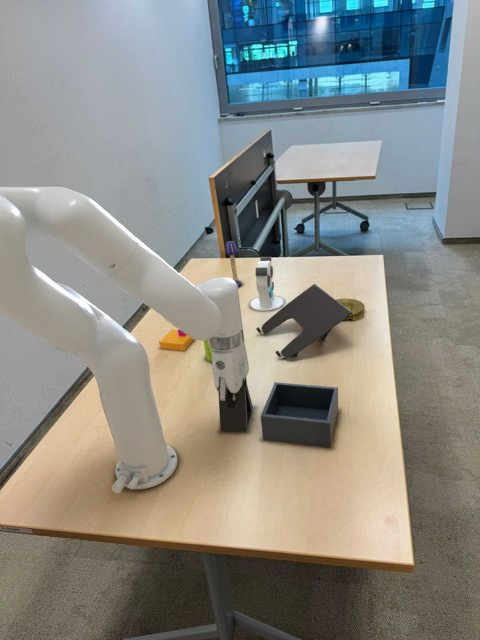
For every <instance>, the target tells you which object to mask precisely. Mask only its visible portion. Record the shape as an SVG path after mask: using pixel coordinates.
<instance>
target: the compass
mask: <svg viewBox="0 0 480 640" xmlns="http://www.w3.org/2000/svg"><path fill="white" fill-rule="evenodd" d="M335 300H337V301H338V302H339V303H341V304H342V305H343V306H344V307H346V308H347V309H348V310H350V311H351V312H352V314H351V315H349V316H347V317H346V318H345V319H344V320H352V321H356V320H359V319H361V318H362V317H363V315H364V313H365V303H364V302H362V301H360V300H358V299H355V298H349V297H348V298H347V297H346V298H345V297H344V298H337V299H335Z"/></svg>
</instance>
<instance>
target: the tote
mask: <svg viewBox="0 0 480 640" xmlns="http://www.w3.org/2000/svg"><path fill="white" fill-rule="evenodd" d="M338 413H339V387H336V386H325V385H312V384H302V383H288V382H280V381H279V382H277V381H274V383H273V385H272V388H271V390H270V392H269V394H268V397H267V399H266V402H265V405H264V406H263V409H262V412H261V414H260V423H261V424H260V425H261V434H262V441H270V442H277V443H287V444H294V445H302V446H303V445H304V446H312V447H319V448H320V447H321V448H329V449H330V448H331V446H332V441H333V437H334V432H335V429H336V423H337V419H338V418H337V417H338Z"/></svg>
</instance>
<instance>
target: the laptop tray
mask: <svg viewBox="0 0 480 640" xmlns="http://www.w3.org/2000/svg"><path fill="white" fill-rule="evenodd" d="M351 314H352V312H351V311H350V310H348V309H347V308H346V307H344V306H343V305H342V304H341V303H339V302H338V301H337V300H336V299H335V298H334V297H333V296H332V295H330V294H329V293H328V292H326V291H325V290H324V289H322V288H321V287H320V286H319V285H317V284H316V283H313V284H312V285H311V286H310V287H308V288H307V289H305V290H304V291H303V292H301V293H299V295H297V296H296V297H294V298H293V299H292V300H291V301H289V302H288V303H286V305H284V306H283V307H281V308H280V309H279V310H278V311H277V312H276V313H274V314H272V316H271V317H270V318H269V319H267V320H266V321H265V322H264V323H263V324H262V325H261V329H260V327H259V326H258V327H256V328H255V329H256V331H257V333H258V334H259V335H261V336H262V335H264V334H268V333H269V332H271V331H273V330H275V329H276V328H278V327H279V326H281V325H282V324H284V323H285V322H287V321H288V320H294V321H295V322H296V323H297V324H298V325H299V326H300V327H301V328H302V331H301V332H300V333H299V334H298V335H297V336H296V337H294V338H293V339H292V340H290V342H288V344H286V345H285V346H284V347H283V348H282V349H281V351H279V350H276V351H275V354H276V356H277V357H278V358H279V359H282V360H283V359H285V358H288V359H289V358H292V359H294V358H297V357H298V355H299V353H300V352H302V351H303V350H304V349H306V348H307V347H309V346H310V345H312V344H313V343H314V342H316V341H318V340H319V339H320V341H321V342H324V341H325V340H326V338H327V337H328V336H329V334H330V332H331V331H332V330H333V329H334V328H335V327H336V326H337V325H339V324H340V323H342V322H343V321H344V320H346V319H345V318H346V317H347V316H349V315H351Z"/></svg>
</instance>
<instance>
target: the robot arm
mask: <svg viewBox="0 0 480 640" xmlns="http://www.w3.org/2000/svg"><path fill="white" fill-rule="evenodd" d="M42 240H53V241H55V242H56V243H57V244H59V245H60V246H61V247H63V248H64V249H65V250H67V251H68V252H69V253H71V254H72V255H73V256H74V257H76V258H77V259H78V260H80V261H81V262H83V263H84V264H86V265H87V266H88V267H89V268H91V269H92V270H94V271H95V272H96V273H98V274H99V275H101V276H102V277H103V278H104V279H106V280H107V281H109V282H110V283H111V284H113V285H114V286H115V287H116V288H118V289H119V290H120V291H123V293H125V294H127V295H128V296H130V297H131V298H133V299H135V300H136V301H138V302H140V303H142V304H144V305H145V306H146V307H149V308H150V309H151V310H153V311H154V312H156V313H157V314H159V315H160V316H161V317H162V318H163V319H164V320H165V321H166V322H167V323H169V324H171V325H172V326H173V327H175V328H176V329H177V330H178V329H179V330H181V331H182V332H184V333H185V334H186V335H188V336H189V337H191V338H192V339H194V341H203V340H208V345H209V348H210V349H211V350H212V362H211V366H212V376H213V381H214V387H215V390H216V391H217V393H218V392H219V391H220V400H222V401H226V402H227V407H229V408H232V409H234V401H237V402H238V399H237V396H236V393H237V392H238V391H239V390H240V388H241V386H242V382H243V378H244V380H245V378H246V379H247V376H248V374H249V371H250V366H249V365H250V364H249V360H248V353H247V348H246V344H245V335H244V327H243V326H244V325H243V319H242V308H241V301H240V293H239V292H240V291H239V287H238V286H237V284H236V282H235V281H234V280H233V278H230V277H222V276H221V277H213V278H210V279H207V280H205V281H204V282H201V283H197V284H193V283H191V282H190V281H189V280H188V279H187V278H186V277H184V276H183V275H182V274H181V273H179V272H178V271H177V270H175V269H174V268H173V267H172V266H171V265H170V264H168V263H167V261H165V260H164V258H162V257H160V256H159V255H158V254H157V253H155V252H154V251H153V250H152V249H151V248H150V247H148V246H147V245H146V244H145V243H143V241H141V239H139V238H138V237H136V236H135V235H134V234H133V233H132V232H130V231H129V230H128V229H127V228H126V227H125V226H124V225H123V224H122V223H120V222H119V221H118V220H117V219H115V217H113V216H112V215H111V214H110V213H109V212H107V210H105V209H104V208H103V207H102V206H100V204H98V203H97V202H96V201H94V199H92V198H90V197H89V196H87V195H86V194H83V193H81V192H78V191H77V190H73V189H70V188H68V187H64V186H0V314H2V315H3V316H5V317H6V318H8V319H9V320H11V321H12V322H13V323H15V324H16V325H17V326H19V327H21V328H23V329H24V330H26V331H27V332H28V333H30V334H31V335H33V336H35V337H36V338H38V339H39V340H41V341H42V342H43V343H45V344H46V345H47V346H49V347H50V348H52V349H55V350H57V351H59V352H63V353H70V354H71V353H73V354H74V355H76V356H77V357H79V358H80V360H81V361H82V362H83V363H84V364H85V366H86V367H87V368H88V369H89V370H90V372H91V373H92V375H93V377H94V378H95V381H96V384H97V387H98V393H99V399H100V403H101V406H102V410H103V413H104V416H105V418H106V421H107V426H108V428H109V431H110V434H111V438H112V441H113V443H114V447H115V450H116V453H117V457H118V459H119V460H117V463H116V465H115V469H114V470H115V477H116V480H115V482H114V483H113V484H112V486H111V491H112V492H113V493H115V494H121V492H122V491H123V489H124V488H127V489H129V490H146V489H150V488H153V487H156V486H158V485H160V484H162V483H163V482H165V481H167V480H168V479H169V478H170V477H171V476H172V475H173V474H174V472H175V470H176V468H177V466H178V455H177V453H176V451H175V450H174V448H173V447H171V446H170V445H168V444H167V443H166V439H165V433H164V431H163V427H162V422H161V419H160V414H159V410H158V407H157V403H156V399H155V395H154V391H153V386H152V381H151V380H152V379H151V366H150V360H149V359H150V358H149V355H148V352H147V350H146V349H145V347H144V346H143V345H142V343H141V342H140V341H139V340H138V339H137V338H136V337H135V336H134V335H133V334H132V333H130V331H128V330H126V329H125V328H124V327H122V326H121V324H119V323H118V322H117V321H116V320H115V319H113V318H111V317H110V316H109V315H107V314H106V312H103V311H102V310H100V309H99V308H98V307H97V306H96V305H94V304H92V302H91V301H89V300H88V299H86V297H84V296H82V295H81V294H80V293H78V292H77V291H75V290H74V289H73V288H71V287H70V286H69V285H66V284H63V283H60V282H56V281H53V280H52V279H51V278H50V277H49V276H48V275H46V273H44V272H42V271H41V270H40V269H39V268H37V267H36V266H34V264H32V263H31V262H30V261H29V258H28V255H27V251H26V249H27V248H26V247H27V242H29V241H31V242H33V241H42ZM203 342H204V341H203ZM245 375H246V377H245ZM227 391H230V392H231V393H232V394H229V393H227Z"/></svg>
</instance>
